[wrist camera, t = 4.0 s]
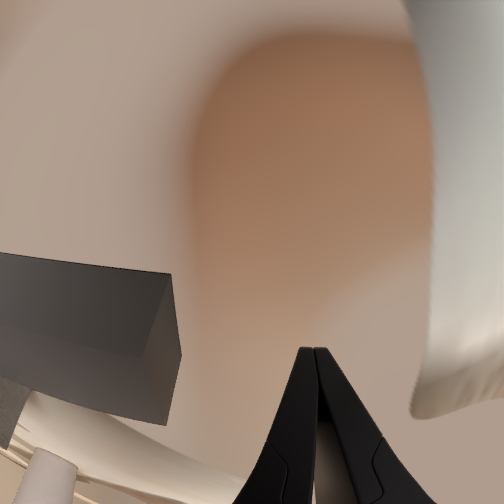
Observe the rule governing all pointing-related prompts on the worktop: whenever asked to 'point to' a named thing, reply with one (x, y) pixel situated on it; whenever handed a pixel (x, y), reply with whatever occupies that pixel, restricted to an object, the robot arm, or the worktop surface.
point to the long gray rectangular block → (10, 408)
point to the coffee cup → (47, 480)
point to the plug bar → (90, 335)
